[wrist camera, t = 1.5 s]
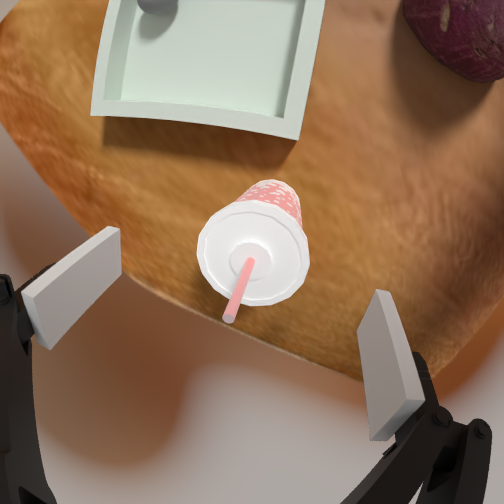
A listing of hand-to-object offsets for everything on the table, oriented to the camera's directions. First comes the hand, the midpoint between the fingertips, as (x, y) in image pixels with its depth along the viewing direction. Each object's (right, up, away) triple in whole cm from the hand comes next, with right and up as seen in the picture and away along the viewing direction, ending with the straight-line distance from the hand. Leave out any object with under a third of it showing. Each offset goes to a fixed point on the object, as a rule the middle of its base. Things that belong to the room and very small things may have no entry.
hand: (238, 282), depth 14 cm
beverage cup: (+2, +5, +10) cm, 11 cm away
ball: (-6, +21, +2) cm, 22 cm away
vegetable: (+17, +20, -1) cm, 26 cm away
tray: (-2, +18, +4) cm, 18 cm away
